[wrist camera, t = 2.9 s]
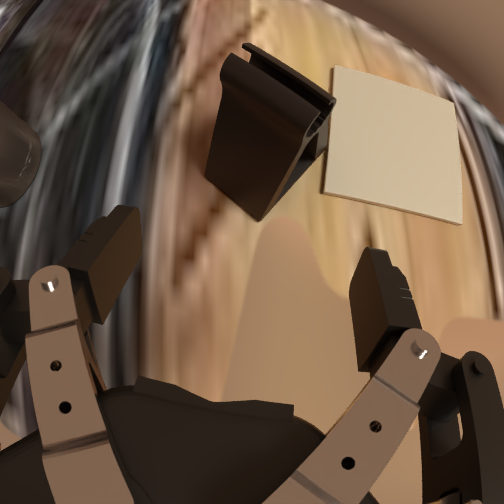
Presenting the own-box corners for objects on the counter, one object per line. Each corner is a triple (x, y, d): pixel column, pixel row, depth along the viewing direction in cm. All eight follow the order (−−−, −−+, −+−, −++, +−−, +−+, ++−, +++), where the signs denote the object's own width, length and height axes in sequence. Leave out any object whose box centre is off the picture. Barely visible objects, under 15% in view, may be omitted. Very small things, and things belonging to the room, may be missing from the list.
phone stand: (274, 109, 28) (287, 13, 16) (326, 149, 27) (370, 64, 15) (204, 176, 27) (176, 96, 15) (258, 223, 26) (267, 165, 14)
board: (322, 193, 27) (324, 191, 26) (333, 68, 28) (334, 64, 28) (458, 225, 26) (462, 224, 26) (451, 105, 28) (453, 103, 28)
